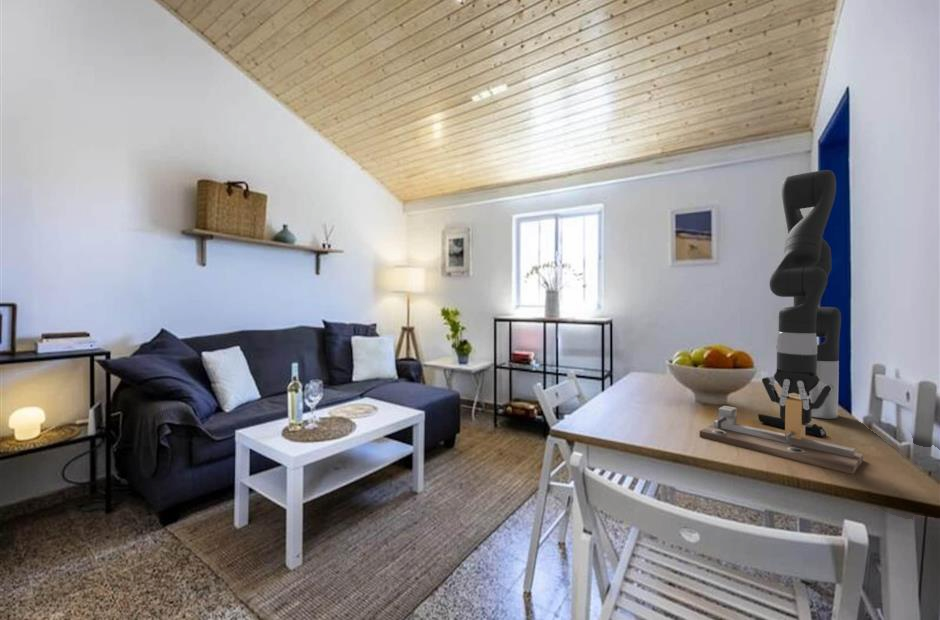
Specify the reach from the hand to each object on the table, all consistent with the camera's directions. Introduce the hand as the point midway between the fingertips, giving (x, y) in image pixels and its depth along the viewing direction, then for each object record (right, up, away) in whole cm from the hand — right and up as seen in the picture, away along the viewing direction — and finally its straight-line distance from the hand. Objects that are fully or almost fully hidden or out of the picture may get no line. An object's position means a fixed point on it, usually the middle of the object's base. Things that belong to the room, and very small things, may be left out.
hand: (795, 422), depth 98 cm
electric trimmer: (+11, -7, +15) cm, 19 cm away
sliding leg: (-1, -4, -1) cm, 4 cm away
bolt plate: (-4, -7, +2) cm, 8 cm away
